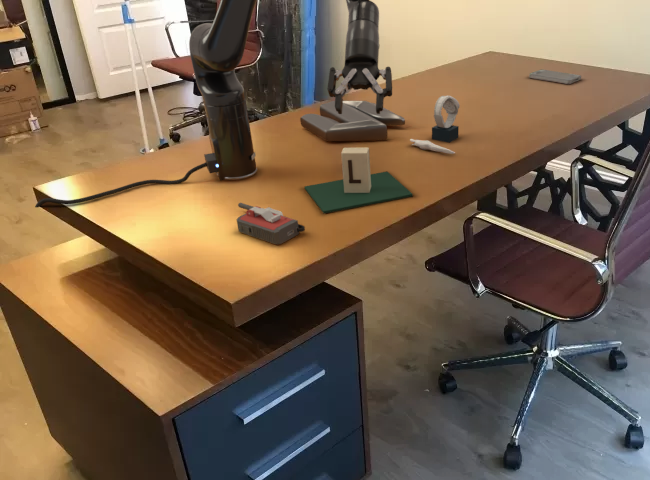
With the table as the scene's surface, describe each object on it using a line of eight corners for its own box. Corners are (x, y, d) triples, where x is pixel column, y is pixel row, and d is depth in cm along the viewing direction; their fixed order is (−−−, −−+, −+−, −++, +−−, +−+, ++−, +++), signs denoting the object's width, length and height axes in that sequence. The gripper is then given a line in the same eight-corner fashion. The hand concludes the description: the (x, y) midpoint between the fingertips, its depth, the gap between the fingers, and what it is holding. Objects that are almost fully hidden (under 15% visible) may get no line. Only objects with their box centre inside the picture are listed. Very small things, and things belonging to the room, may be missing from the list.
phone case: (569, 84, 214) (569, 80, 214) (527, 77, 224) (528, 73, 223) (581, 79, 219) (582, 75, 219) (541, 72, 229) (541, 69, 228)
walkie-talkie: (313, 230, 128) (243, 208, 138) (311, 210, 126) (240, 189, 136) (281, 248, 122) (211, 223, 132) (278, 227, 120) (207, 203, 130)
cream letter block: (344, 193, 142) (340, 153, 137) (346, 186, 145) (343, 147, 140) (369, 193, 142) (366, 153, 137) (371, 186, 145) (368, 147, 140)
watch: (462, 135, 174) (462, 94, 168) (446, 144, 169) (446, 101, 163) (444, 132, 177) (444, 91, 171) (428, 141, 172) (427, 98, 166)
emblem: (419, 101, 185) (370, 129, 164) (419, 120, 187) (371, 150, 167) (335, 92, 196) (279, 117, 175) (337, 110, 199) (282, 137, 178)
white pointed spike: (406, 145, 168) (406, 138, 167) (413, 143, 170) (413, 136, 169) (452, 158, 160) (452, 150, 159) (459, 155, 161) (459, 147, 160)
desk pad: (323, 213, 135) (323, 211, 134) (304, 188, 147) (304, 186, 146) (412, 196, 141) (412, 193, 141) (387, 173, 153) (387, 171, 152)
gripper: (328, 37, 145) (323, 103, 141) (392, 36, 143) (389, 103, 140) (334, 57, 152) (330, 120, 148) (395, 56, 151) (392, 120, 147)
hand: (358, 112), depth 144 cm, fingers open, 8 cm apart
